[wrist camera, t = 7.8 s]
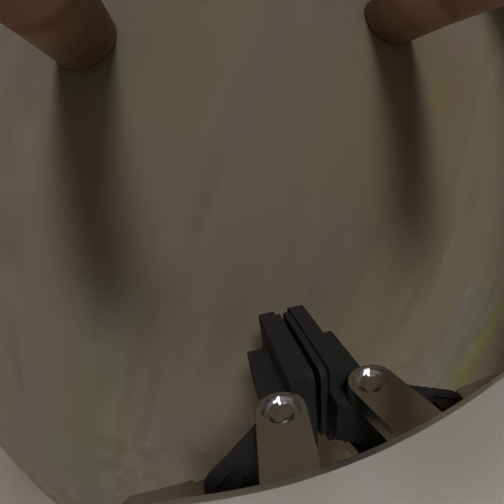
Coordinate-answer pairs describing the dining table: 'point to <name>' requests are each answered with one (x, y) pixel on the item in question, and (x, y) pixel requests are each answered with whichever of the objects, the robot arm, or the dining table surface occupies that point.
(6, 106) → the dining table surface
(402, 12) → the post
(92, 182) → the dining table surface
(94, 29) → the post
